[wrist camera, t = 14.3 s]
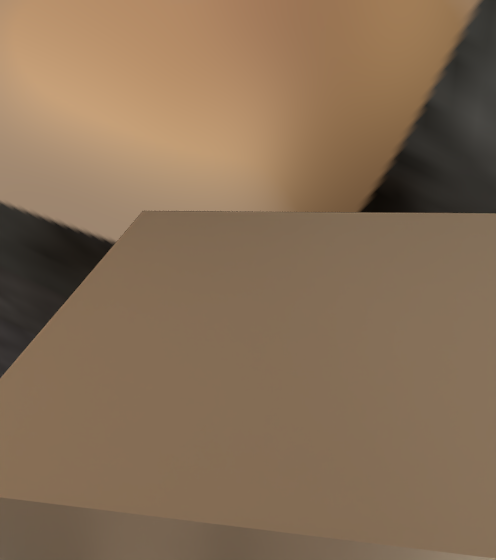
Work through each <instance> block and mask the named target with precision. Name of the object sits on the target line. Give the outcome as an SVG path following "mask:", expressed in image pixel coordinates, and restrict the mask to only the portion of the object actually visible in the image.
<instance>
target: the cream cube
mask: <svg viewBox="0 0 496 560" xmlns="http://www.w3.org/2000/svg"><path fill="white" fill-rule="evenodd" d="M0 560H496V213H365V212H222V211H220V212H219V211H217V212H216V211H142V213H141V214H140V215H139V216H138V217H137V219H136V220H135V221H134V222H133V223H132V224H131V226H130V227H129V228H128V229H127V230H126V231H125V233H124V234H123V235H122V236H121V237H120V238H119V240H118V241H117V242H116V243H115V244H114V245H113V247H112V248H111V249H110V250H109V251H108V253H107V254H106V255H105V256H104V257H103V258H102V260H101V261H100V262H99V263H98V264H97V265H96V267H95V268H94V269H93V270H92V271H91V272H90V274H89V275H88V276H87V277H86V278H85V280H84V281H83V282H82V283H81V284H80V285H79V287H78V288H77V289H76V290H75V291H74V292H73V294H72V295H71V296H70V297H69V298H68V300H67V301H66V302H65V303H64V304H63V305H62V307H61V308H60V309H59V310H58V311H57V312H56V314H55V315H54V316H53V317H52V318H51V319H50V321H49V322H48V323H47V324H46V325H45V327H44V328H43V329H42V330H41V331H40V332H39V334H38V335H37V336H36V337H35V338H34V339H33V341H32V342H31V343H30V344H29V345H28V347H27V348H26V349H25V350H24V351H23V352H22V354H21V355H20V356H19V357H18V358H17V359H16V361H15V362H14V363H13V364H12V365H11V366H10V368H9V369H8V370H7V371H6V372H5V374H4V375H3V376H2V377H1V378H0Z"/></svg>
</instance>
